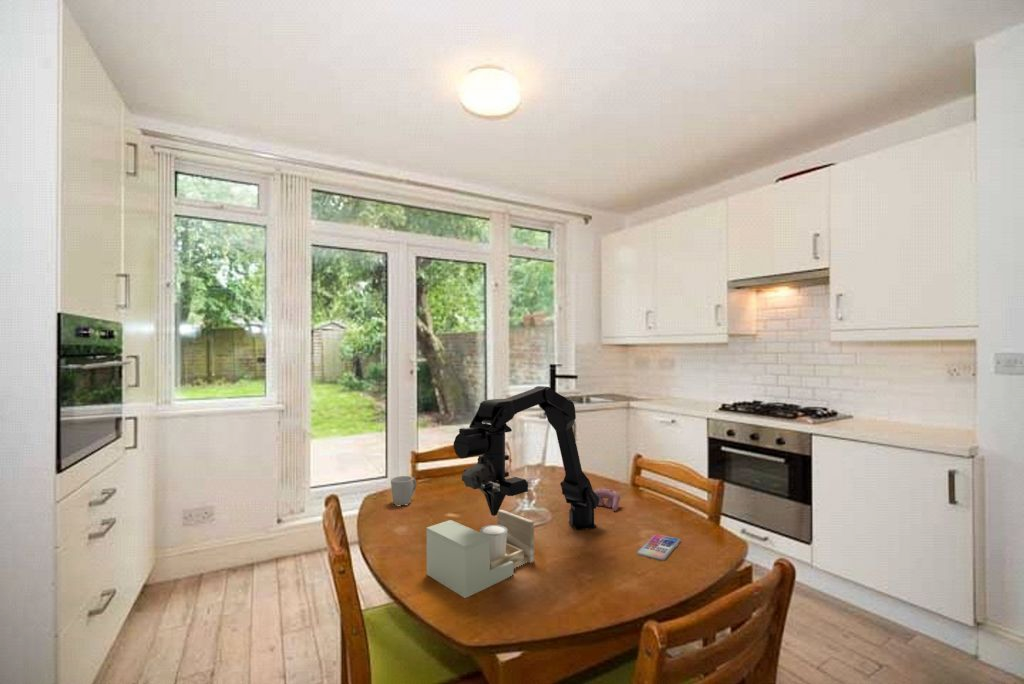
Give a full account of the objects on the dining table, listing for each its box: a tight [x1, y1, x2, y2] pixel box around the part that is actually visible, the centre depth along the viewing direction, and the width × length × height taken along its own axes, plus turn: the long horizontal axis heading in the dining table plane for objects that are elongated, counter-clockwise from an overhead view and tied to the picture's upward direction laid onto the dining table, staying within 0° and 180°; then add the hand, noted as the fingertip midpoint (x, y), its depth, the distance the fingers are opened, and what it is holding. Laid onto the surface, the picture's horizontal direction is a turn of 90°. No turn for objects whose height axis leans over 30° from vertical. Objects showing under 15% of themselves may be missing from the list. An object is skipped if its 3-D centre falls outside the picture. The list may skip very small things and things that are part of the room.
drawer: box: [490, 509, 535, 570], centre depth 115 cm, size 14×12×10 cm
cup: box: [390, 475, 417, 506], centre depth 161 cm, size 8×10×8 cm
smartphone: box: [636, 533, 681, 562], centre depth 123 cm, size 7×1×15 cm
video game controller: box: [593, 487, 621, 512], centre depth 155 cm, size 10×5×7 cm, turn 58°
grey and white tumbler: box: [479, 524, 507, 562], centre depth 114 cm, size 7×7×7 cm
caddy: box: [426, 519, 515, 599], centre depth 109 cm, size 14×15×11 cm
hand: (493, 515), depth 114 cm, fingers closed
